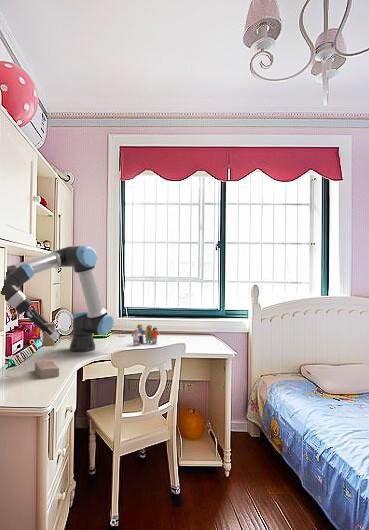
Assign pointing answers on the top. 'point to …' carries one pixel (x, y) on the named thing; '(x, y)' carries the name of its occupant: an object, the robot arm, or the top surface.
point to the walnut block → (45, 338)
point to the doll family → (150, 335)
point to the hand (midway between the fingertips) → (57, 337)
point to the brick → (46, 369)
